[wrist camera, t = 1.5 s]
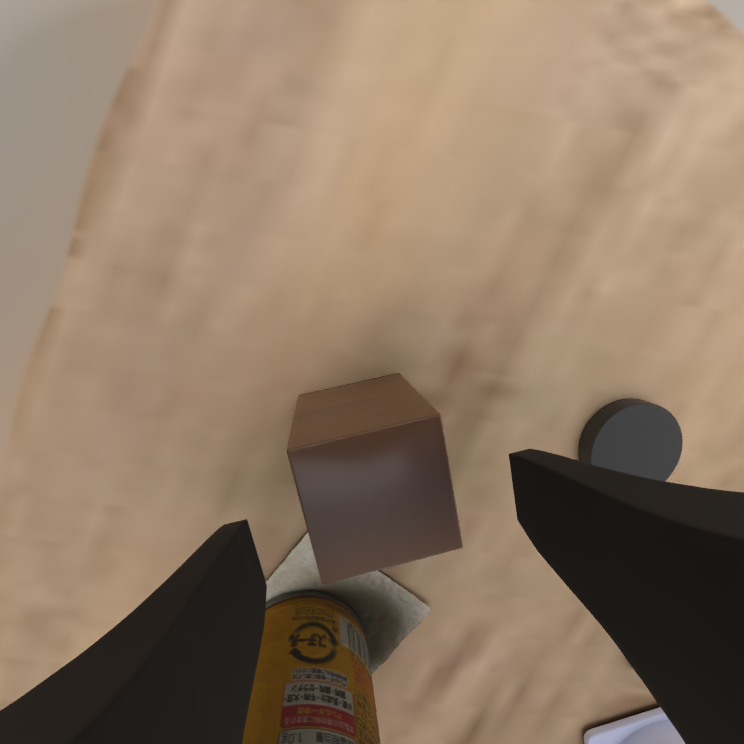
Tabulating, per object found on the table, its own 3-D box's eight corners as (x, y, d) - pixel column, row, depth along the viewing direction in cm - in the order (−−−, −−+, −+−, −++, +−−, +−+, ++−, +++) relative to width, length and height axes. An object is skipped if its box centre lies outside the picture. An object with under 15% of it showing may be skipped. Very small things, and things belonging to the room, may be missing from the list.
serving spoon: (675, 655, 22) (691, 672, 21) (599, 678, 22) (612, 697, 21) (664, 388, 19) (683, 394, 18) (574, 410, 18) (588, 417, 17)
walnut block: (417, 465, 18) (463, 548, 12) (321, 489, 18) (322, 586, 12) (399, 372, 17) (440, 413, 11) (297, 395, 17) (286, 450, 11)
